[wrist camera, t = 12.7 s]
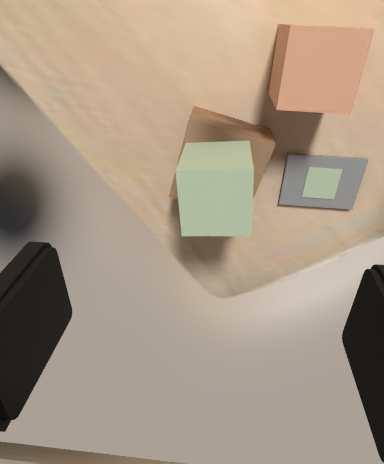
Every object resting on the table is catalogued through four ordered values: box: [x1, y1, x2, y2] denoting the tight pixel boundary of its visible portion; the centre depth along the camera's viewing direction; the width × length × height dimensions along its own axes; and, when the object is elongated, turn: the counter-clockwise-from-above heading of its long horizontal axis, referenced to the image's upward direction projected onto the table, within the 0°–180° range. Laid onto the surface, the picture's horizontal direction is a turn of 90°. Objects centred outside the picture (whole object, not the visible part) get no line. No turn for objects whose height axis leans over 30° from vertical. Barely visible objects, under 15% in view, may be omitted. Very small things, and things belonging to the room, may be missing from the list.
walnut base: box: [169, 106, 276, 199], centre depth 30 cm, size 7×7×4 cm
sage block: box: [176, 141, 254, 236], centre depth 25 cm, size 5×5×6 cm
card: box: [279, 154, 368, 210], centre depth 32 cm, size 7×5×1 cm
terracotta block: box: [268, 24, 374, 114], centre depth 25 cm, size 5×5×6 cm
